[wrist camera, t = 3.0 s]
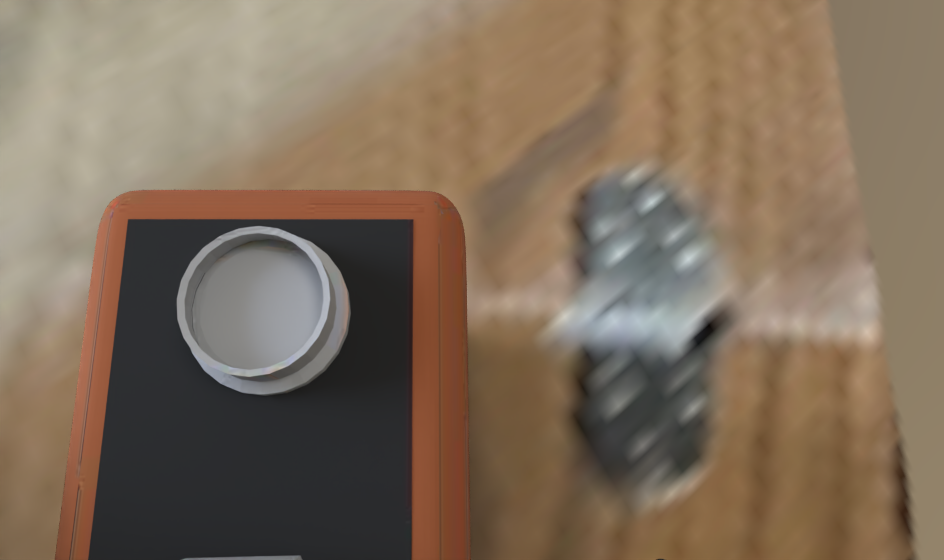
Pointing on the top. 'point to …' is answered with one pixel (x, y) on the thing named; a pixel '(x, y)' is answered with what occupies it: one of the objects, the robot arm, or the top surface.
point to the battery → (272, 380)
